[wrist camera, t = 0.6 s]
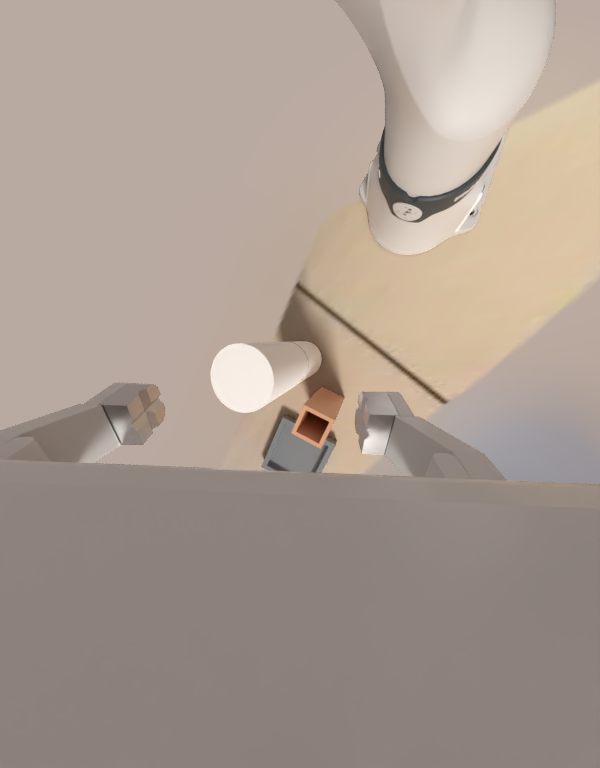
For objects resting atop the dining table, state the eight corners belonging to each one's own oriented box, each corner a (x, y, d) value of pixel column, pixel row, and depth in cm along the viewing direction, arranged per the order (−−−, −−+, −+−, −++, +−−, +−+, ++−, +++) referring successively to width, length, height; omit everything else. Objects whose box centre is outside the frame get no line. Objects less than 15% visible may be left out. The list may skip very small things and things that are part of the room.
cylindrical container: (280, 362, 49) (199, 383, 26) (300, 333, 47) (232, 328, 24) (307, 383, 49) (249, 426, 25) (328, 356, 46) (287, 373, 23)
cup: (321, 386, 48) (303, 404, 35) (344, 397, 47) (335, 420, 34) (311, 407, 49) (290, 433, 36) (333, 418, 48) (320, 449, 35)
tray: (285, 414, 51) (282, 417, 49) (336, 440, 49) (335, 445, 47) (265, 462, 55) (261, 466, 53) (311, 489, 53) (309, 494, 51)
